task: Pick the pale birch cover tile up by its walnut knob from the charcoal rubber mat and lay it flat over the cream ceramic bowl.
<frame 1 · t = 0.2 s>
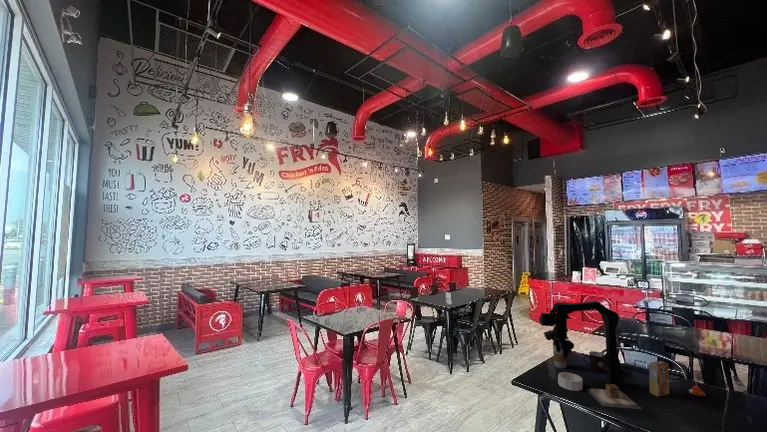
hand: (561, 355, 181), 14 cm above the table, tool pointing down, fingers open, 9 cm apart
coffee mug: (594, 370, 196), on the table
candy box: (659, 394, 168), on the table
coffee cup: (560, 366, 201), on the table
mat: (612, 399, 162), on the table
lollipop: (697, 396, 167), on the table
bowl: (570, 386, 175), on the table
cover tile: (612, 398, 162), resting on mat
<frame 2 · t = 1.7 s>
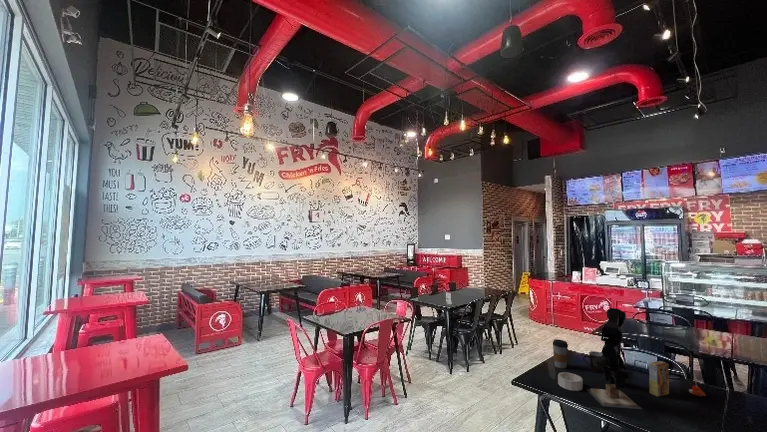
hand: (612, 384, 163), 7 cm above the table, tool pointing down, fingers open, 9 cm apart
nothing on the table moved.
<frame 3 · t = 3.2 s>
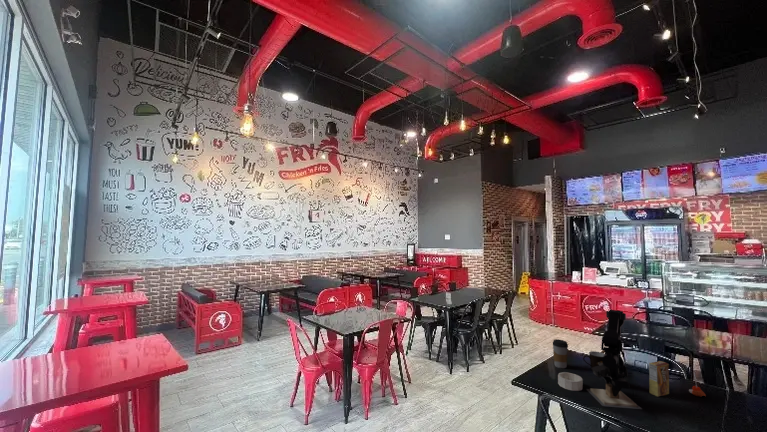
hand: (612, 394, 162), 3 cm above the table, tool pointing down, fingers closed on cover tile, 4 cm apart
cover tile: (612, 398, 162), resting on mat, touching gripper
everything else where it was.
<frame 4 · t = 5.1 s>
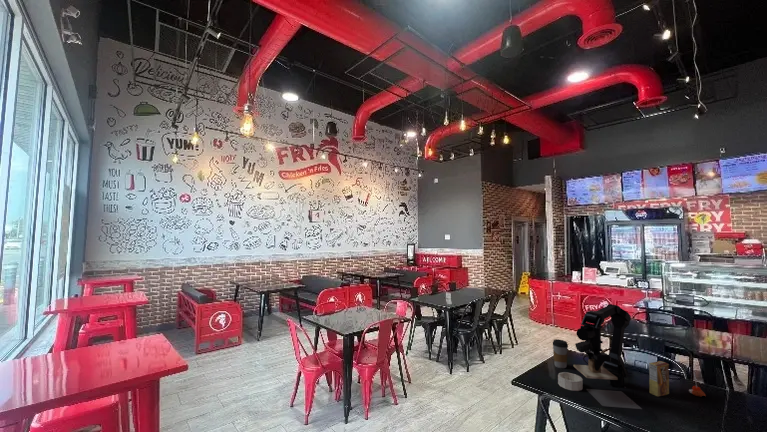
hand: (594, 368, 168), 13 cm above the table, tool pointing down, fingers closed on cover tile, 4 cm apart
cover tile: (594, 372, 168), point 11 cm above the table, touching gripper
everything else where it was.
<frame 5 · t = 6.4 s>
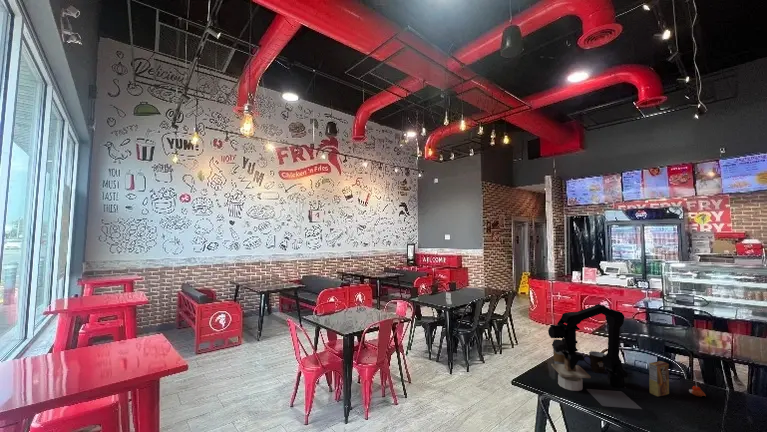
hand: (570, 367, 176), 10 cm above the table, tool pointing down, fingers closed on cover tile, 4 cm apart
cover tile: (570, 371, 176), point 8 cm above the table, touching gripper
everything else where it was.
when the fingers open (8 cm above the table, at t = 7.4 s): cover tile drops 1 cm, resting on bowl.
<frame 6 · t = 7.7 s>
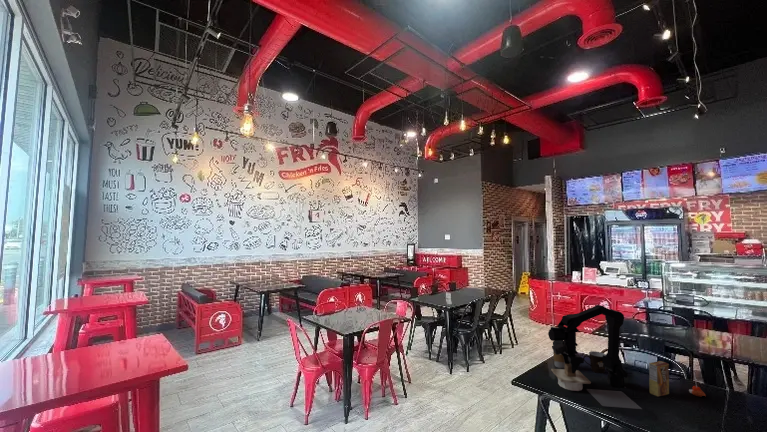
hand: (570, 370, 176), 8 cm above the table, tool pointing down, fingers open, 7 cm apart
cover tile: (570, 376, 175), point 5 cm above the table, touching bowl
everything else where it was.
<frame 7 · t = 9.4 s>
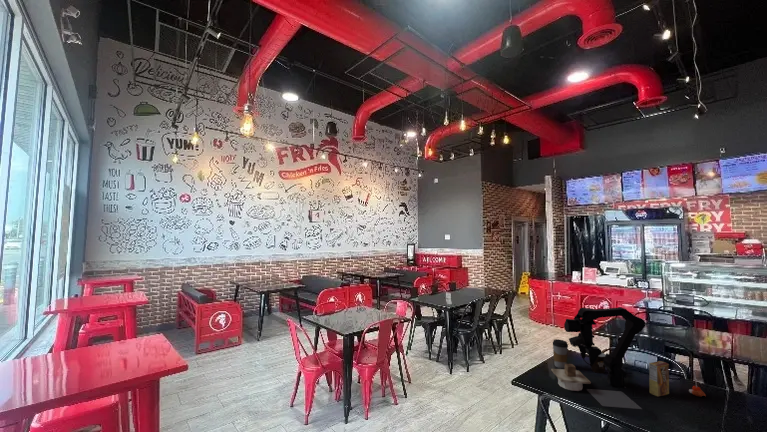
hand: (587, 361, 179), 12 cm above the table, tool pointing down, fingers open, 9 cm apart
nothing on the table moved.
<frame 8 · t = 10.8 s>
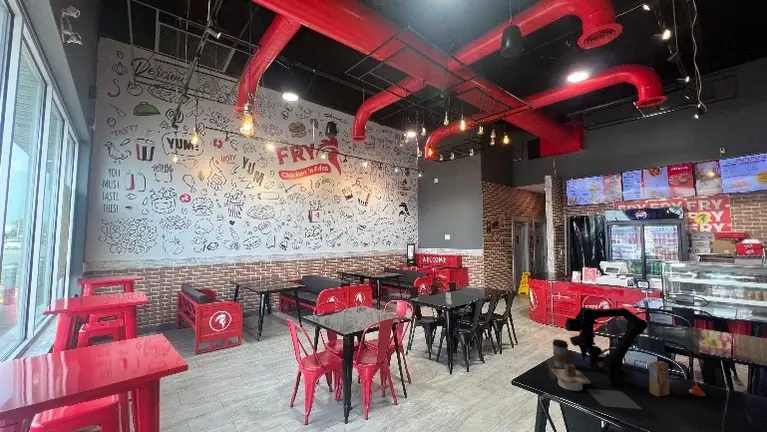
hand: (587, 361, 179), 12 cm above the table, tool pointing down, fingers open, 9 cm apart
nothing on the table moved.
at the end: cover tile 0.0 cm off-centre on the bowl, point 5.0 cm above the bowl's base; cover tile tilted 0°; the gripper is holding nothing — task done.
